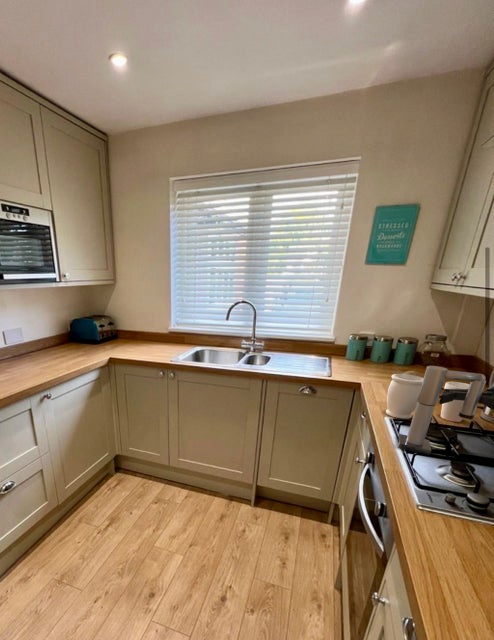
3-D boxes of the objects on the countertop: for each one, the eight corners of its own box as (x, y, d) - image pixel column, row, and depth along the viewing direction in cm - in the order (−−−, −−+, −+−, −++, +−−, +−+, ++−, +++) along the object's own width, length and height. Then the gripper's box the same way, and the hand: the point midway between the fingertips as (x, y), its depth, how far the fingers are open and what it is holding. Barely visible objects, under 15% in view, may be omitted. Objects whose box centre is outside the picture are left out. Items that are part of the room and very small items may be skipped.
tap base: (427, 444, 104) (441, 402, 99) (429, 455, 97) (444, 410, 92) (398, 437, 107) (410, 397, 102) (398, 447, 101) (410, 404, 96)
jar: (385, 417, 123) (395, 379, 118) (379, 408, 132) (389, 372, 127) (418, 422, 120) (430, 383, 114) (410, 412, 129) (420, 375, 124)
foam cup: (439, 411, 130) (450, 380, 126) (469, 419, 124) (481, 386, 119) (432, 417, 124) (442, 384, 120) (462, 425, 118) (475, 391, 113)
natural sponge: (419, 391, 154) (425, 370, 150) (420, 396, 147) (426, 375, 143) (397, 387, 159) (402, 367, 155) (396, 392, 152) (402, 371, 148)
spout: (470, 415, 96) (486, 371, 91) (476, 421, 91) (492, 375, 87) (413, 406, 101) (425, 365, 96) (416, 411, 97) (429, 368, 92)
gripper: (554, 423, 92) (522, 437, 83) (452, 395, 113) (417, 404, 103) (566, 398, 90) (534, 410, 80) (459, 374, 110) (424, 382, 101)
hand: (468, 407), depth 92 cm, fingers open, 13 cm apart
